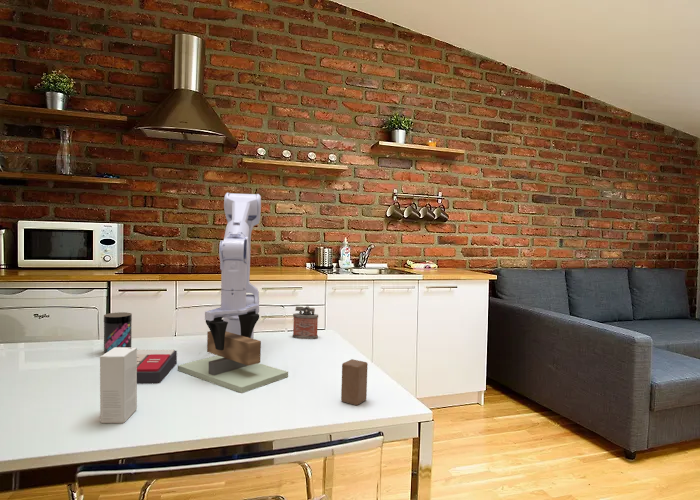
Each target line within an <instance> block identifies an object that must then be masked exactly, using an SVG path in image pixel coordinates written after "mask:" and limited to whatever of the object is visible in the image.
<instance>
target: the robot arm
mask: <svg viewBox="0 0 700 500" xmlns="http://www.w3.org/2000/svg"><path fill="white" fill-rule="evenodd" d="M261 197H262V196H261V195H260V193H255V194H254V193H235V192H234V193H233V192H226V193H225V194H224V198H223V200H224V201H223V209H224V210H223V211H224V214H225V215H224V216H225V218H226V222H227V223H226V227H225V230H224V231H225V232H224V237H223V240H221V239H220V242H219V246H218V255H219V256H218V257H219V262H220V264H219V268H220V271H221V273H220V274H221V276H220V279H221V280H220V281H221V284H220V286H221V287H220V289H221V290H220V307H216V308H214V309H211V310H210V309H209V310H205V311H204V320H205V324H206V325H207V327H208V329H209V331H211V334H212V336H213V340H214V344H215V348H216V349H217V350H224V342H225V332H226V331H227V332H230V333H234V334H237V335H241V336H245V337H248V338H252V339H255V338H254V334H255V333H254V331H255V326H256V324H257V322H258V321H259V320H260V314H259V313H260V296H259V295H260V290H259V289H258V287H257V286H255V285H253V284H252V283H251V282H250V277H251V274H250V273H251V244H252V243H251V241H252V240H251V239H252V232H253V228H254V226H256V225H258V224H259V225H260V221H261V213H262V212H261V210H262V198H261Z"/></svg>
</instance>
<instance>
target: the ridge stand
mask: <svg viewBox="0 0 700 500" xmlns="http://www.w3.org/2000/svg"><path fill="white" fill-rule="evenodd" d="M177 371H178V372H181V373H184V374H187V375H189V376H193V377H195V378H198V379H201V380H203V381H206V382H209V383H213V384H214V385H218V386H220V387H223V388H225V389H229V390H231V391H234V392H236V393H241V394H243V393H246V392H249V391H251V390H255V389H258V388H260V387H263V386H266V385H268V384H271V383H274V382H278V381H280V380H283V379H286V378H289V371H286V370H283V369H280V368H277V367H273V366H269V365H267V364H262V363H261V362H260V363H257V364H253V365H249V366H248V365H245V364H242V363H239V362H236V361H233V360H230V359H227V358H224V357H221V356H218V355H213V356H211V357H210V356H209V357H206V358H203V359H198V360H195V361H189V362H186V363H182V364H178V365H177Z"/></svg>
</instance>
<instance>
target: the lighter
mask: <svg viewBox="0 0 700 500" xmlns="http://www.w3.org/2000/svg"><path fill="white" fill-rule="evenodd" d="M315 309H316V308H315V307H310V306H307V305H306V306H305V307H303V306H296V307H295V312H296V311H297V312H298V313H293V314H292V318H293V328H292V329H293V330H292V333H293V334H292V338H293V339H299V340H300V339H301V340H318V337H319V336H318V325H319V324H318V323H319V321H318V319H319V314H318V313H317V314H316V313H315Z"/></svg>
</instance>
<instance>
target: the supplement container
mask: <svg viewBox="0 0 700 500" xmlns="http://www.w3.org/2000/svg"><path fill="white" fill-rule="evenodd" d="M132 315H133V313H131V312H123V311H122V312H119V311H118V312H110V313H105V314H104V315H103V354H105V353H107V352H108V351H110V350H111V349H113V348H115V347H127V348H132V338H133V337H132V332H133V331H132V328H133V327H132V325H133V324H132V320H133V317H132Z"/></svg>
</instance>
